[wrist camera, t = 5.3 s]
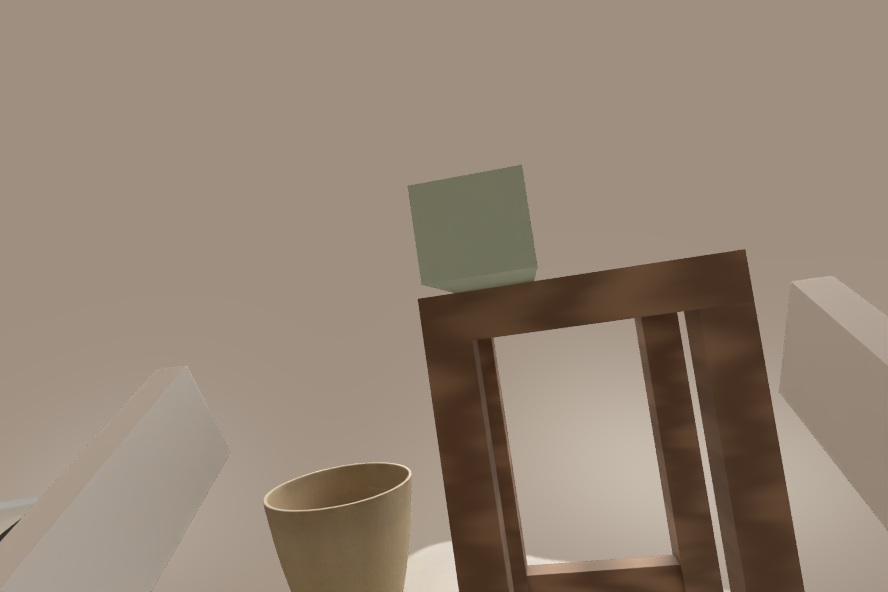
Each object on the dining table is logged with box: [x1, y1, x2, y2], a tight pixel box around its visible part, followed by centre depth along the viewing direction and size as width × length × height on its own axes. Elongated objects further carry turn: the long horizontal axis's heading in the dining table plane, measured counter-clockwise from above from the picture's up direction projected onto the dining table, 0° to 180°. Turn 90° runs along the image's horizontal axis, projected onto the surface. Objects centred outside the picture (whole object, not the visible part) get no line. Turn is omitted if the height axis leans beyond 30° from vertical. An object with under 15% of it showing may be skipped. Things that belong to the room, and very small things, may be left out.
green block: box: [408, 165, 537, 293], centre depth 30 cm, size 24×4×4 cm, turn 171°
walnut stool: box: [418, 249, 805, 592], centre depth 34 cm, size 16×16×32 cm
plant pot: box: [263, 462, 412, 592], centre depth 55 cm, size 15×15×16 cm
